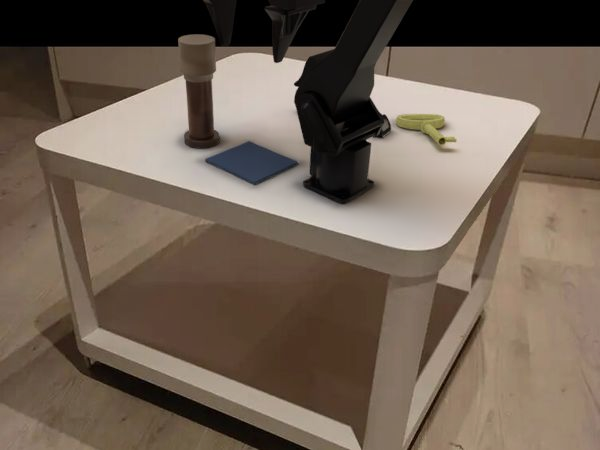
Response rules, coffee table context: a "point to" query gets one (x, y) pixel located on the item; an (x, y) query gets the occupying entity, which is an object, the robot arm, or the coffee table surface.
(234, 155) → the napkin
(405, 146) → the coffee table surface
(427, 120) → the key
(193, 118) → the shaving brush
